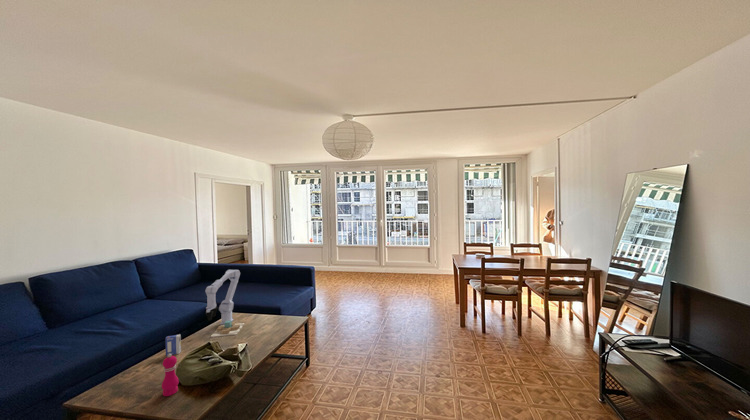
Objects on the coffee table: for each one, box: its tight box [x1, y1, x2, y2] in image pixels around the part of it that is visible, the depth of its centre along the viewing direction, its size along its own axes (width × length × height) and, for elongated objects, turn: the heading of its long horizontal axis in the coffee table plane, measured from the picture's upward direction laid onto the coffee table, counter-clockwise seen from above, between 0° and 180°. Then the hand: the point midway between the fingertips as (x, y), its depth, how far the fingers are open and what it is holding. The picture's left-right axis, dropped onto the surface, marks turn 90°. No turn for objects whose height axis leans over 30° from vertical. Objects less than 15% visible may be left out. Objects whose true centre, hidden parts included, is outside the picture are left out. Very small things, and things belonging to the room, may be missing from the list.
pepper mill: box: [161, 354, 180, 397], centre depth 144 cm, size 7×7×20 cm
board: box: [210, 321, 245, 338], centre depth 218 cm, size 20×18×3 cm
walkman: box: [164, 333, 182, 357], centre depth 183 cm, size 8×3×12 cm, turn 110°
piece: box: [223, 320, 233, 328], centre depth 218 cm, size 4×4×6 cm
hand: (211, 318), depth 219 cm, fingers open, 7 cm apart
